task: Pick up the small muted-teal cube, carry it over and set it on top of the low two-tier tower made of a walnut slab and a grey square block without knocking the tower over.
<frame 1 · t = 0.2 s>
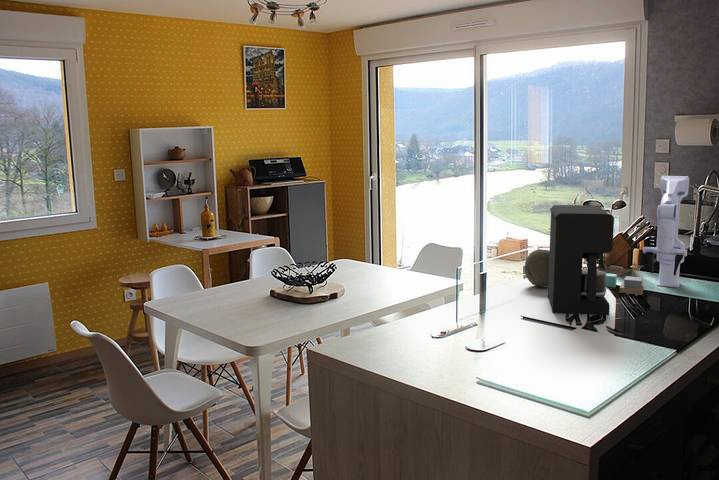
hand: (663, 273, 248), 10 cm above the worktop, fingers open, 7 cm apart
walnut slab: (631, 293, 262), on the worktop, touching grey square block
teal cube: (609, 285, 273), on the worktop
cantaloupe: (542, 287, 272), on the worktop
coffee maker: (578, 307, 242), on the worktop
grey square block: (633, 286, 261), point 2 cm above the worktop, touching walnut slab
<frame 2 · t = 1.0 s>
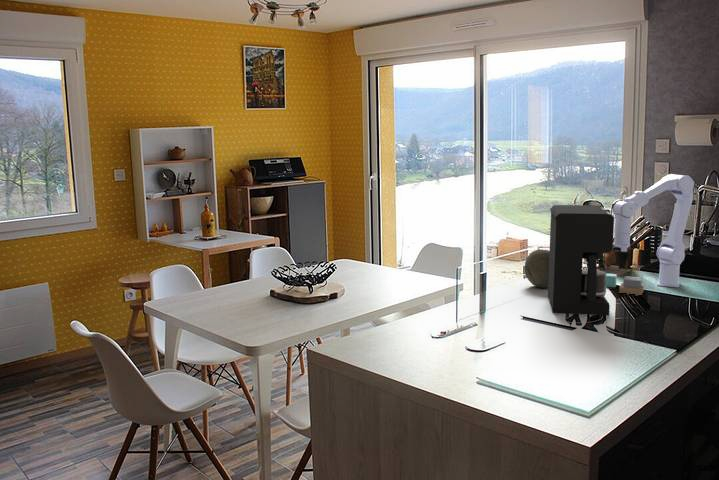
hand: (620, 266, 267), 9 cm above the worktop, fingers open, 7 cm apart
nothing on the worktop moved.
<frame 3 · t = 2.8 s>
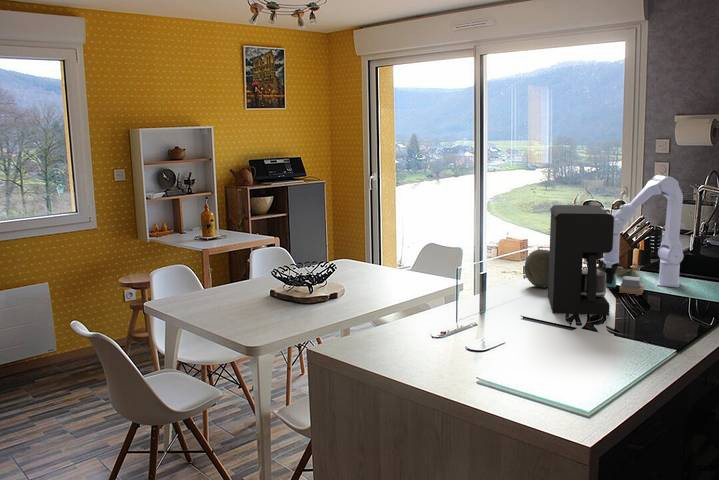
hand: (609, 282, 273), 1 cm above the worktop, fingers closed on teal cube, 4 cm apart
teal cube: (609, 285, 273), on the worktop, touching gripper
everything else where it was.
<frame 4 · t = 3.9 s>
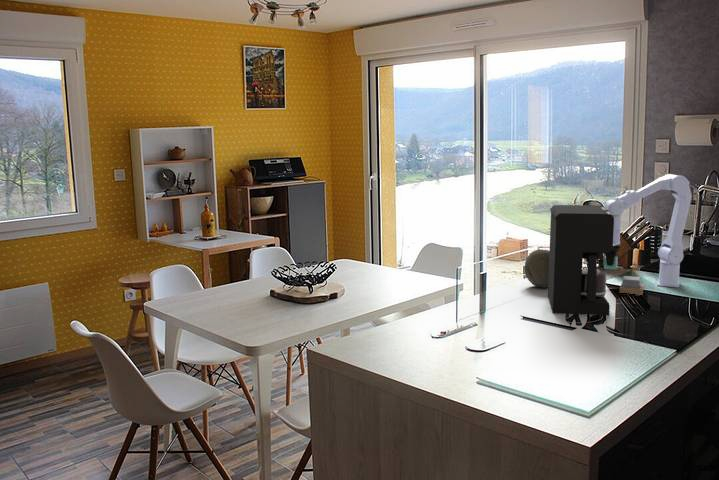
hand: (610, 264, 271), 9 cm above the worktop, fingers closed on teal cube, 4 cm apart
walnut slab: (631, 293, 262), on the worktop
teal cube: (610, 267, 272), point 7 cm above the worktop, touching gripper
grey square block: (630, 285, 262), point 3 cm above the worktop
everything else where it was.
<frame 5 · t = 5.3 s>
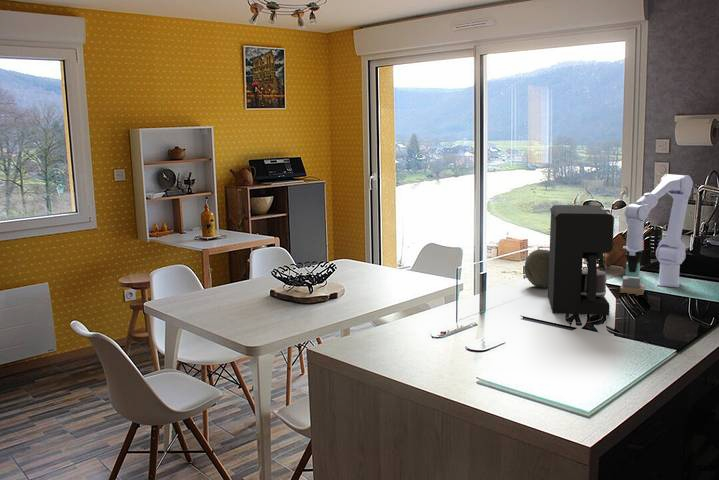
hand: (632, 270, 260), 8 cm above the worktop, fingers closed on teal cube, 4 cm apart
walnut slab: (632, 293, 262), on the worktop, touching grey square block
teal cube: (632, 274, 261), point 7 cm above the worktop, touching gripper
grey square block: (630, 285, 262), point 2 cm above the worktop, touching walnut slab
everything else where it was.
when the fingers open (8 cm above the worktop, at t = 5.7 s): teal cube drops 1 cm, resting on grey square block.
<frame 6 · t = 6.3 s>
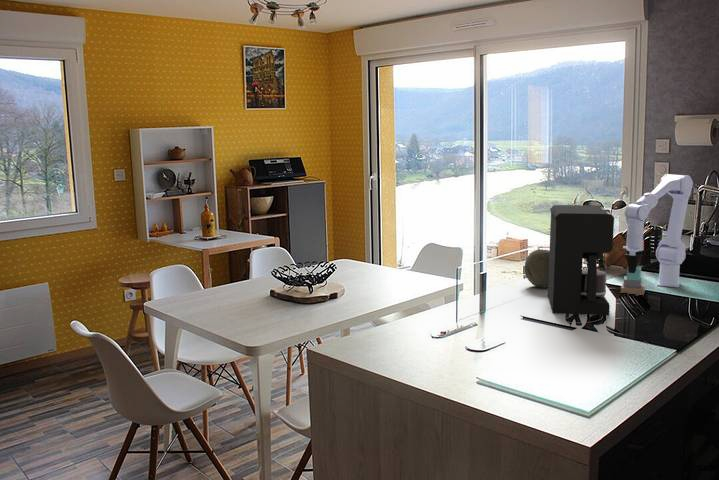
hand: (632, 270, 260), 8 cm above the worktop, fingers open, 7 cm apart
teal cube: (633, 278, 260), point 5 cm above the worktop, touching grey square block
grey square block: (632, 285, 262), point 2 cm above the worktop, touching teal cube, walnut slab
everything else where it was.
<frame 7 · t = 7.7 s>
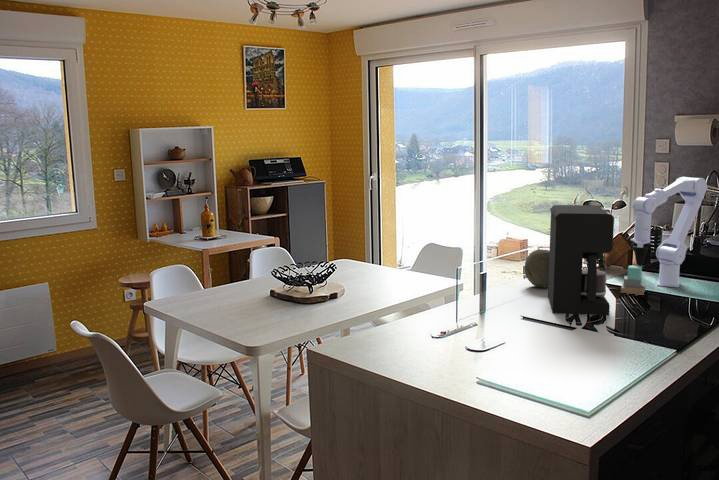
hand: (640, 262, 265), 10 cm above the worktop, fingers open, 7 cm apart
nothing on the worktop moved.
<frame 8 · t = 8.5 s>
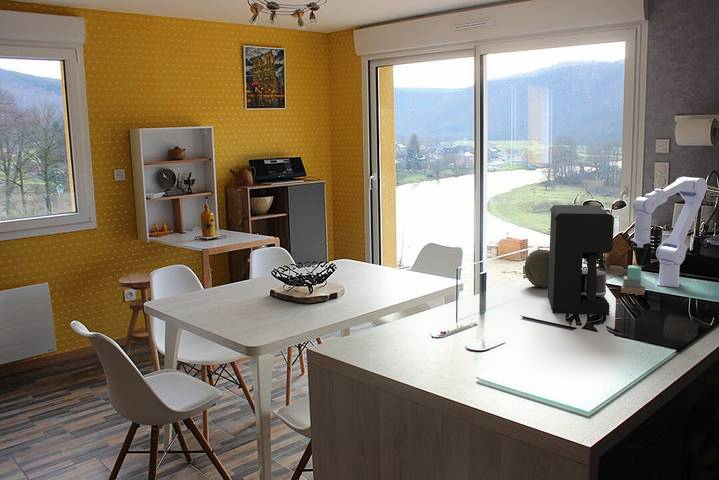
hand: (640, 262, 265), 10 cm above the worktop, fingers open, 7 cm apart
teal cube: (633, 278, 261), point 5 cm above the worktop
grey square block: (631, 285, 262), point 2 cm above the worktop, touching walnut slab
everything else where it was.
at the end: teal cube 0.8 cm off-centre on the grey square block, point 3.0 cm above the grey square block's base; grey square block 0.8 cm off-centre on the walnut slab, point 3.0 cm above the walnut slab's base; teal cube tilted 0° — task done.
